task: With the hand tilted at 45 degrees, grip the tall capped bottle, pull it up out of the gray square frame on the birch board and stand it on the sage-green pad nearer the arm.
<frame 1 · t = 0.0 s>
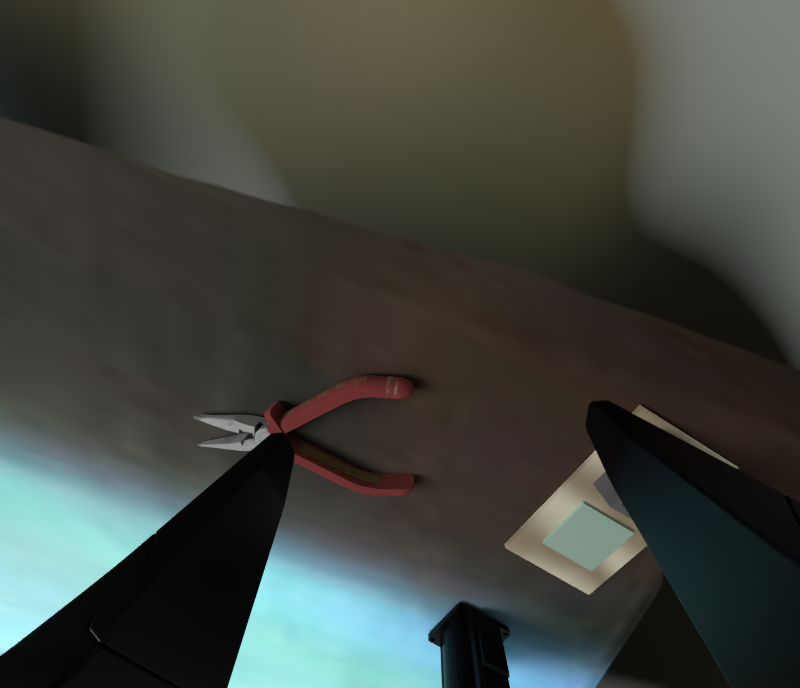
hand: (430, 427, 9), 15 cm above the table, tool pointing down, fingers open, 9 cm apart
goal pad: (586, 535, 27), resting on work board
pliers: (319, 412, 27), on the table
gray square frame: (661, 486, 24), on the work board
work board: (610, 507, 27), on the table
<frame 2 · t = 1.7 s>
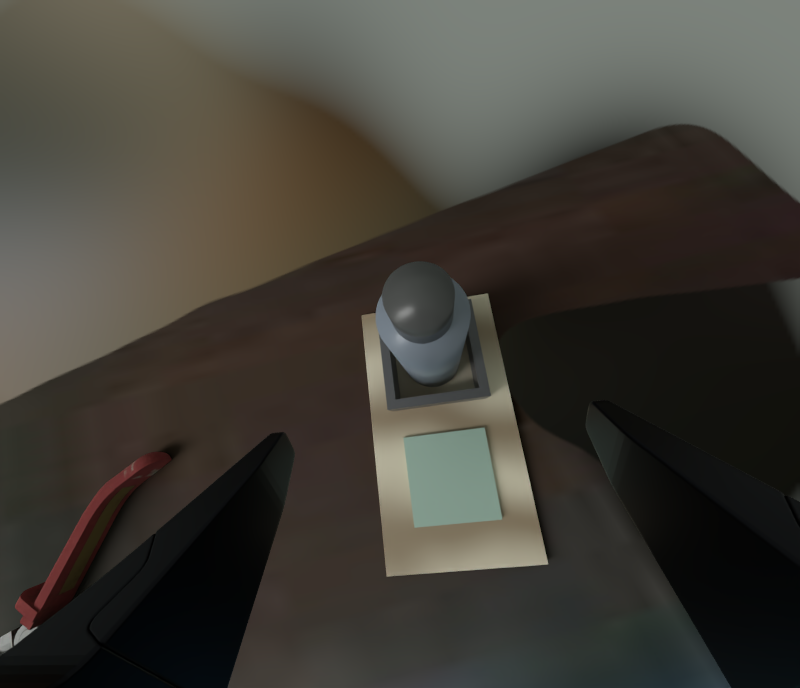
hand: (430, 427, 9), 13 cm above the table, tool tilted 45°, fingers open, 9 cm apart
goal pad: (450, 475, 20), resting on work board
pliers: (105, 563, 23), on the table
gray square frame: (431, 356, 21), on the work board
capped bottle: (427, 338, 16), in the gray square frame, touching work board
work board: (441, 422, 21), on the table
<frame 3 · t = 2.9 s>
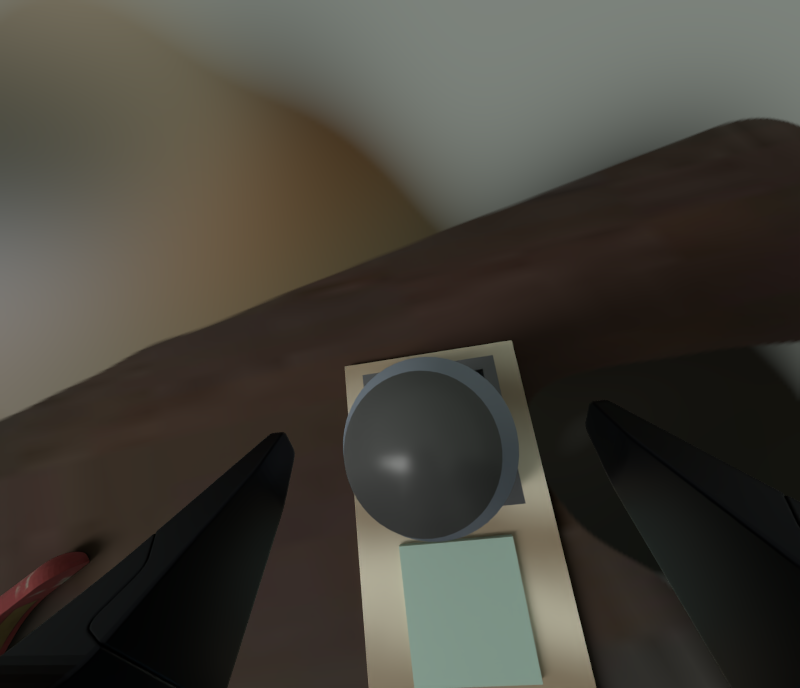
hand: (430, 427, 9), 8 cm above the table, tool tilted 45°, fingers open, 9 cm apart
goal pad: (464, 606, 14), resting on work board
gray square frame: (437, 432, 15), on the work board
capped bottle: (433, 436, 11), in the gray square frame, touching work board
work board: (451, 521, 15), on the table
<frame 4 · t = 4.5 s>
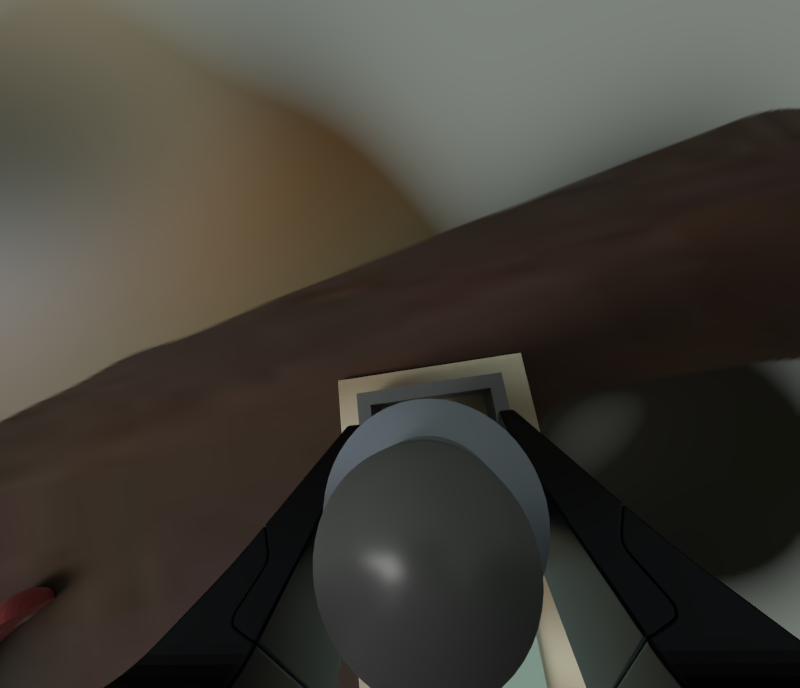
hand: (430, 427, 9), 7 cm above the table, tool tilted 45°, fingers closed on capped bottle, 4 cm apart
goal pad: (470, 652, 13), resting on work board
gray square frame: (439, 457, 14), on the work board
capped bottle: (436, 474, 9), in the gray square frame, touching gripper, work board
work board: (455, 554, 14), on the table
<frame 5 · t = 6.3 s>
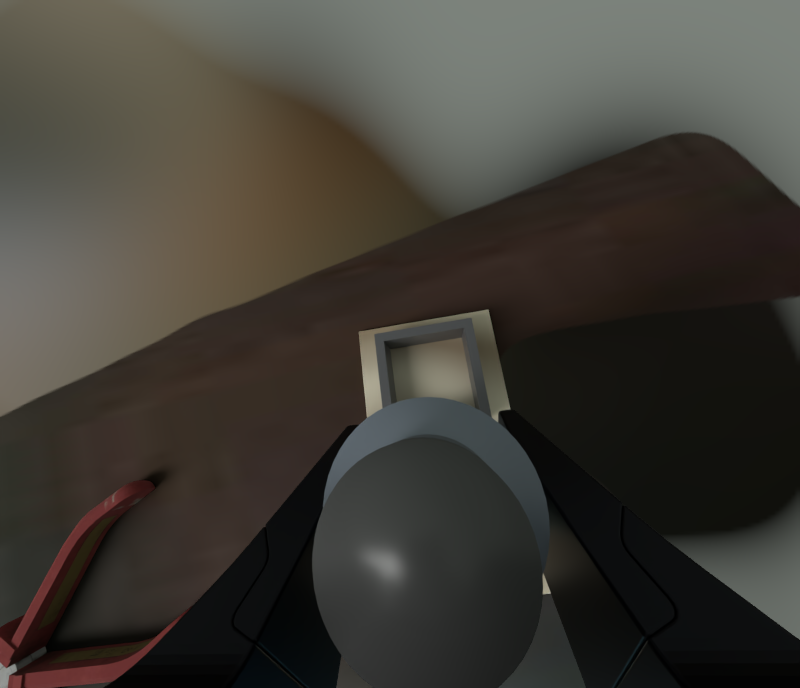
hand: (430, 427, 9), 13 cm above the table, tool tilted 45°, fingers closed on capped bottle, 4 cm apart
pliers: (87, 594, 22), on the table
gray square frame: (430, 376, 20), on the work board
capped bottle: (436, 473, 9), point 12 cm above the table, touching gripper
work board: (441, 443, 21), on the table
when the fingers open (8 cm above the table, at t = 8.5 s): capped bottle stays where it is, resting on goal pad.
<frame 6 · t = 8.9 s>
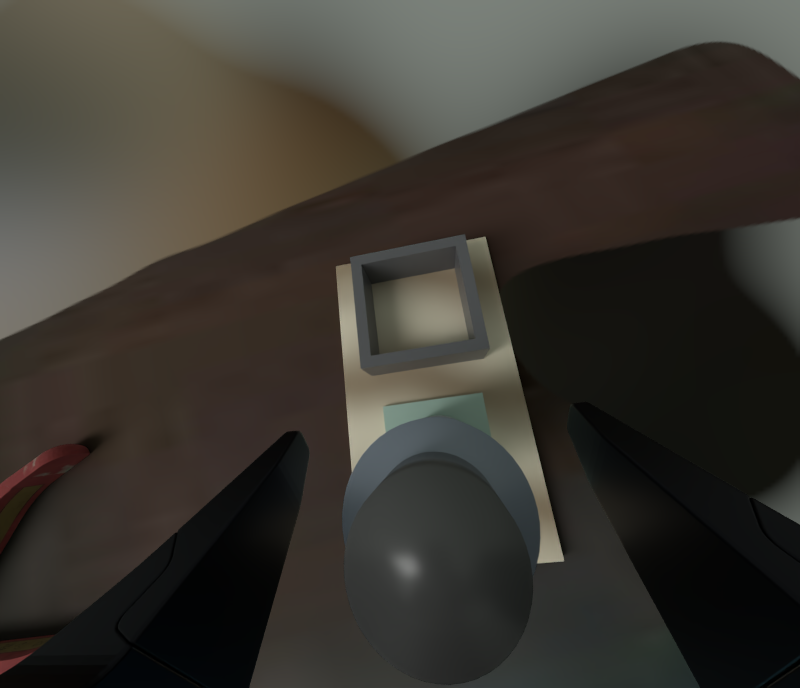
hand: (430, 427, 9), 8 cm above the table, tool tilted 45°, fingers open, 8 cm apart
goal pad: (440, 451, 16), resting on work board
pliers: (7, 578, 19), on the table
gray square frame: (416, 307, 17), on the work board
capped bottle: (438, 477, 10), point 7 cm above the table, touching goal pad
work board: (430, 388, 17), on the table
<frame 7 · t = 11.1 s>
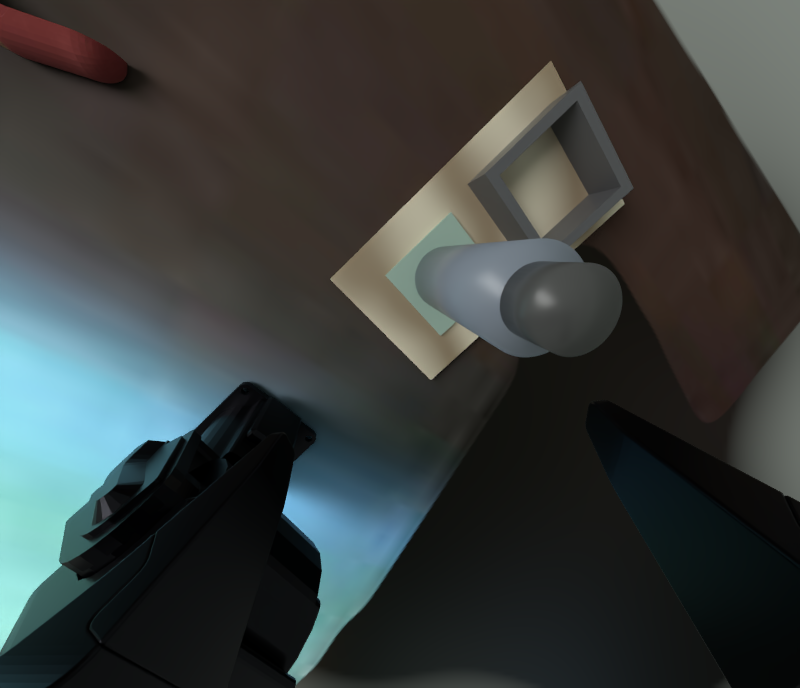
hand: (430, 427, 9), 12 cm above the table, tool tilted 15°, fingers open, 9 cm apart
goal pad: (444, 277, 20), resting on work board
gray square frame: (548, 186, 18), on the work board
capped bottle: (484, 288, 14), point 7 cm above the table, touching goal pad
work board: (481, 240, 20), on the table
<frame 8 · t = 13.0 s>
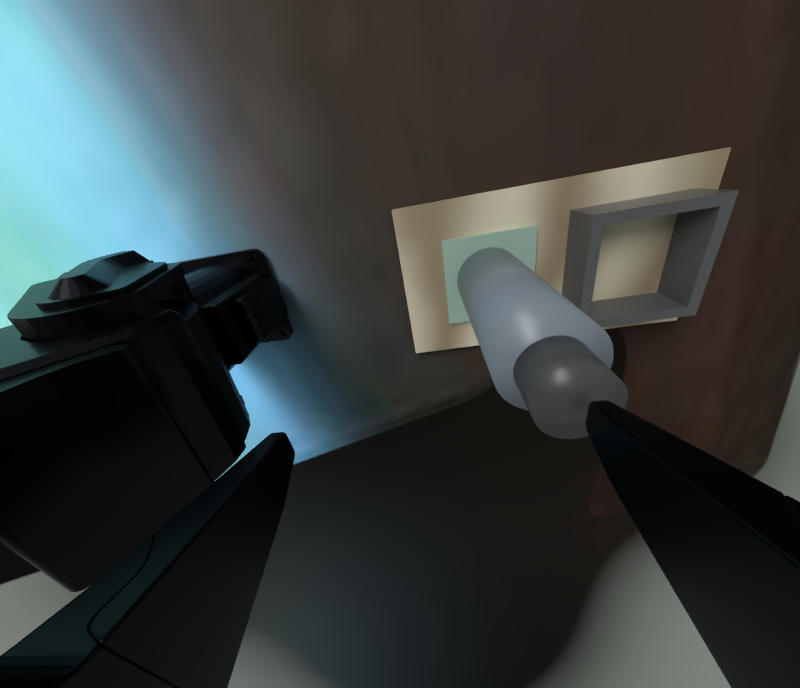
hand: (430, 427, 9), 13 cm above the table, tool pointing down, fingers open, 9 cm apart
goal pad: (488, 277, 19), resting on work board
gray square frame: (633, 262, 17), on the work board
capped bottle: (516, 319, 14), point 7 cm above the table, touching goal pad
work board: (542, 267, 19), on the table
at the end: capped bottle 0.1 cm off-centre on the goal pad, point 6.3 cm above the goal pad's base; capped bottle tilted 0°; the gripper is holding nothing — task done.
